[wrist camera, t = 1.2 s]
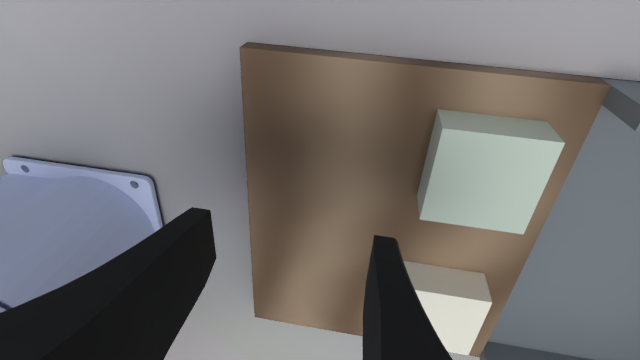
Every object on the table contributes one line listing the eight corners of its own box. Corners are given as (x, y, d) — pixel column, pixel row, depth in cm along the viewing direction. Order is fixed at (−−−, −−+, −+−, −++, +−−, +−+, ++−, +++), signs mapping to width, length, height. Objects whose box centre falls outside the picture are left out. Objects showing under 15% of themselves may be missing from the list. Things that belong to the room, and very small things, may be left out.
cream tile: (389, 312, 24) (388, 341, 22) (401, 260, 21) (402, 287, 20) (462, 325, 23) (468, 355, 22) (484, 273, 21) (492, 302, 19)
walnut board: (259, 305, 27) (254, 316, 26) (247, 42, 17) (239, 47, 16) (476, 343, 25) (479, 357, 24) (599, 77, 16) (611, 85, 15)
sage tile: (417, 194, 19) (419, 219, 17) (437, 109, 16) (442, 128, 15) (511, 207, 18) (523, 234, 17) (547, 121, 16) (565, 142, 14)
